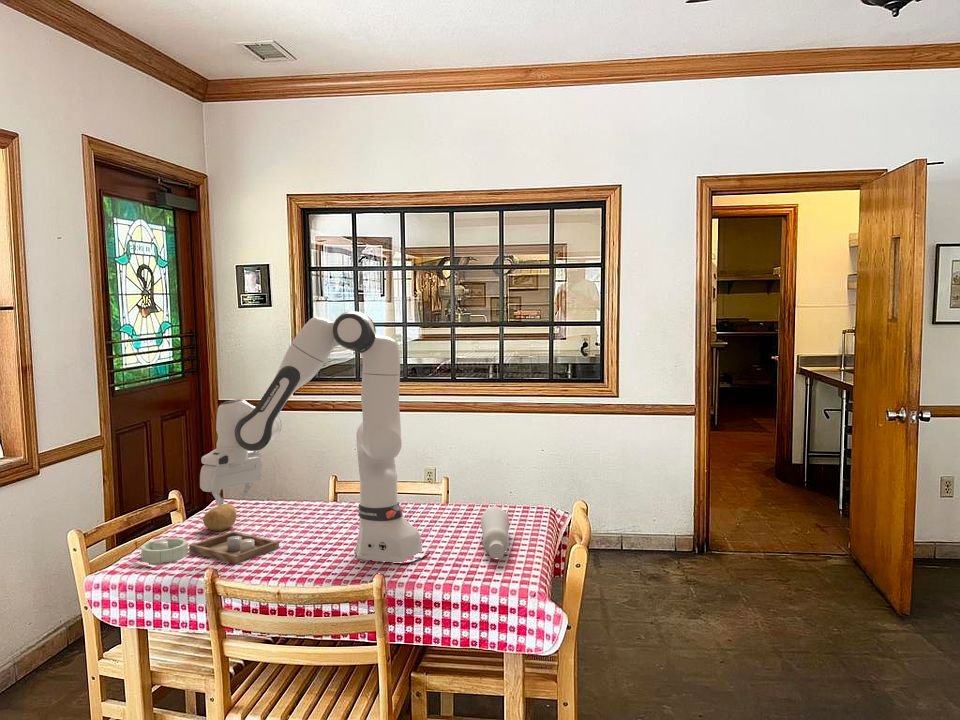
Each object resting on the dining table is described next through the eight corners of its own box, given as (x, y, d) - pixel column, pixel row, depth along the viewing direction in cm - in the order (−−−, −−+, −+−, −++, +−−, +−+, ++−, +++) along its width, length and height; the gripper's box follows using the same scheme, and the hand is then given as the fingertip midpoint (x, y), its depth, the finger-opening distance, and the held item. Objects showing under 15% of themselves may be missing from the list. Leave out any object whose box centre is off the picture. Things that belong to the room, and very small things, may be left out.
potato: (244, 523, 238) (243, 500, 238) (226, 536, 224) (226, 511, 224) (216, 523, 239) (215, 500, 238) (196, 535, 225) (196, 511, 224)
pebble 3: (257, 552, 207) (257, 540, 207) (246, 556, 203) (246, 543, 203) (248, 550, 209) (247, 538, 209) (237, 553, 205) (236, 541, 205)
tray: (279, 549, 211) (278, 541, 211) (235, 565, 197) (235, 556, 197) (233, 539, 221) (233, 531, 221) (189, 553, 207) (189, 545, 207)
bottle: (475, 522, 229) (474, 555, 199) (490, 499, 228) (492, 529, 198) (498, 537, 229) (500, 573, 199) (514, 514, 228) (518, 547, 198)
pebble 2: (244, 549, 210) (244, 537, 209) (233, 552, 206) (233, 540, 206) (235, 546, 212) (235, 535, 212) (224, 550, 208) (224, 538, 208)
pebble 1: (171, 553, 205) (171, 541, 205) (159, 557, 202) (158, 545, 201) (162, 551, 207) (162, 539, 207) (150, 555, 204) (149, 543, 203)
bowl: (196, 555, 206) (195, 542, 206) (159, 567, 195) (158, 553, 195) (170, 548, 212) (169, 535, 212) (132, 560, 202) (132, 546, 201)
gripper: (252, 448, 218) (253, 492, 219) (196, 458, 200) (196, 506, 201) (267, 450, 215) (267, 495, 215) (210, 461, 197) (211, 509, 198)
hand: (232, 500), depth 208 cm, fingers open, 8 cm apart
